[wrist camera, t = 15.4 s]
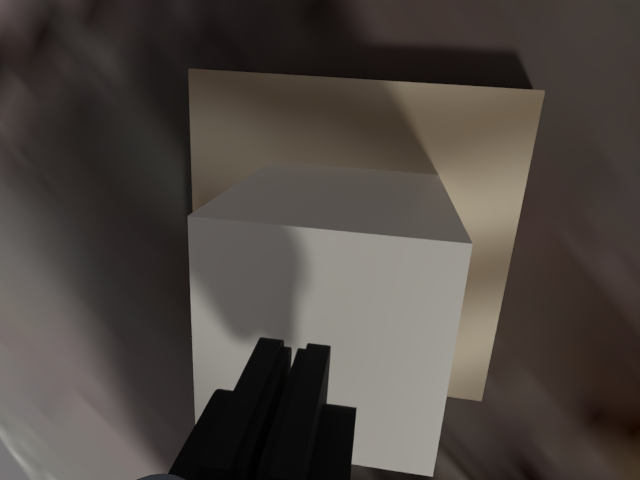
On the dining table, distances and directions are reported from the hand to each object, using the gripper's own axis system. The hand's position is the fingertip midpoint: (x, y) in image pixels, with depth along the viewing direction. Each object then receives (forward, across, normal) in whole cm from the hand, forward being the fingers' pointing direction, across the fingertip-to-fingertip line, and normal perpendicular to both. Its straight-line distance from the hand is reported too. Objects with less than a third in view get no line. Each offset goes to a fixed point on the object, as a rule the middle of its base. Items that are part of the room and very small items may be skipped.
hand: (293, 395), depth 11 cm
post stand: (+12, 0, 0) cm, 12 cm away
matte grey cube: (+10, 0, 0) cm, 10 cm away
